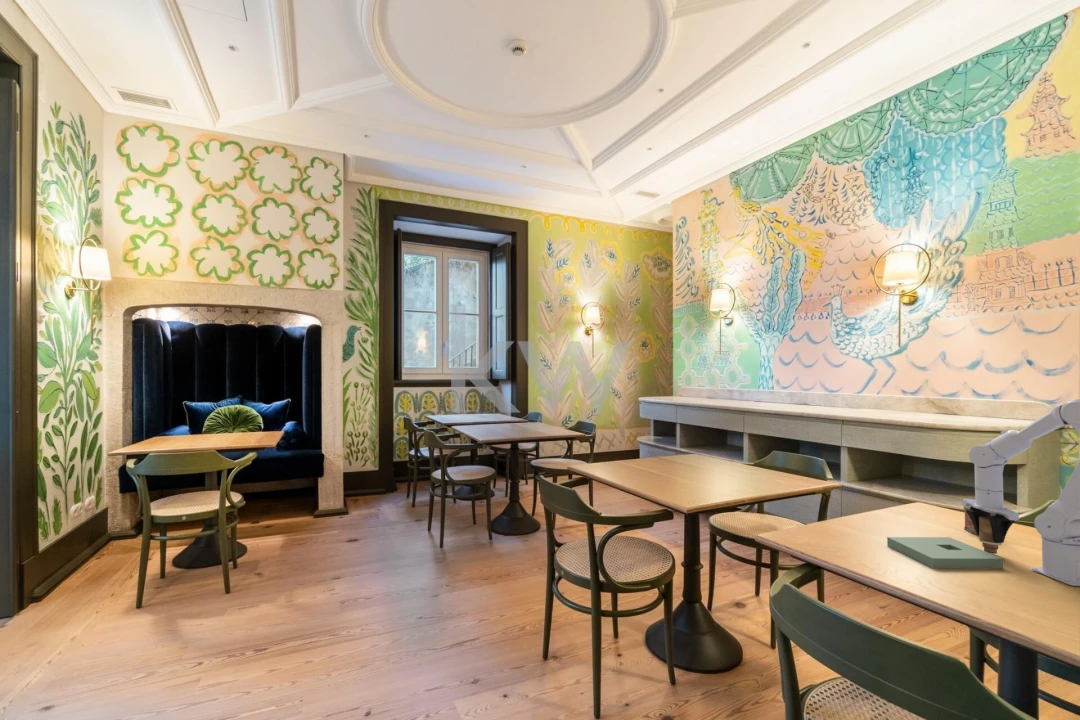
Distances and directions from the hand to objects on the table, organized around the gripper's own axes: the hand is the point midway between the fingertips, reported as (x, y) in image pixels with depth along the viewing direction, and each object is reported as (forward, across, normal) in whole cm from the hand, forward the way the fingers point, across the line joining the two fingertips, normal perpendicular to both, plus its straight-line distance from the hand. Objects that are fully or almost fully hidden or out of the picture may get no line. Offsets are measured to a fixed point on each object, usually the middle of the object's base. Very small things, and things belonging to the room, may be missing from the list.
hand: (990, 539), depth 133 cm
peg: (+3, 0, 0) cm, 3 cm away
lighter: (+4, -17, +12) cm, 21 cm away
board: (+4, +2, -15) cm, 16 cm away
